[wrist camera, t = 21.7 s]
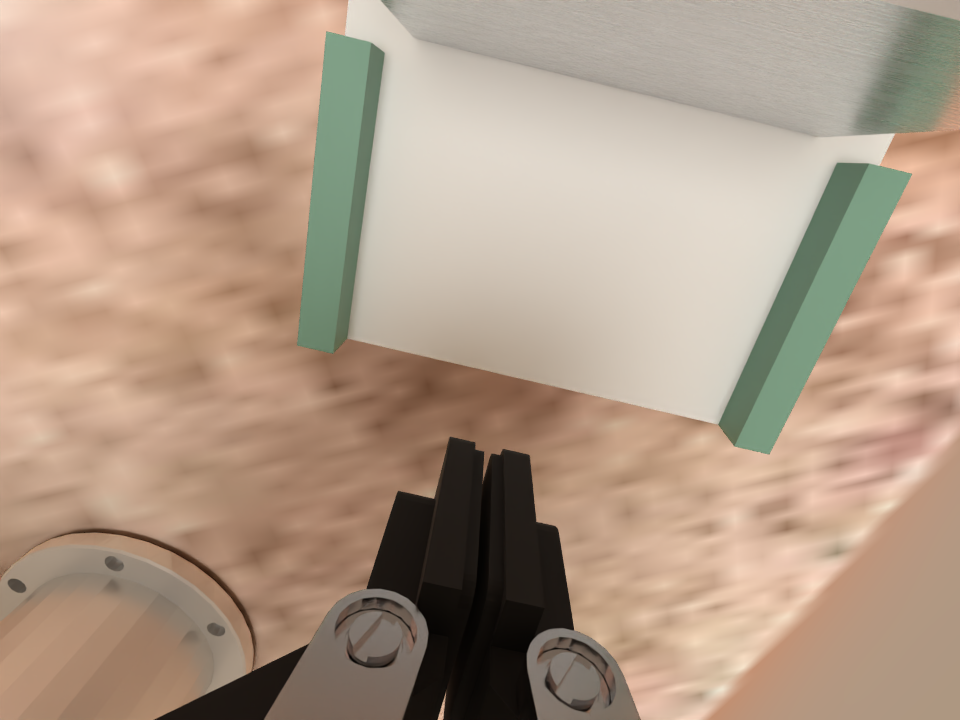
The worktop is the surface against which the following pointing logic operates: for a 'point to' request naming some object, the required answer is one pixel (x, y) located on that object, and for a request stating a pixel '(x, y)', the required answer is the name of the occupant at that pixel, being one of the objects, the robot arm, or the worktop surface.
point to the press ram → (731, 54)
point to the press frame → (579, 230)
